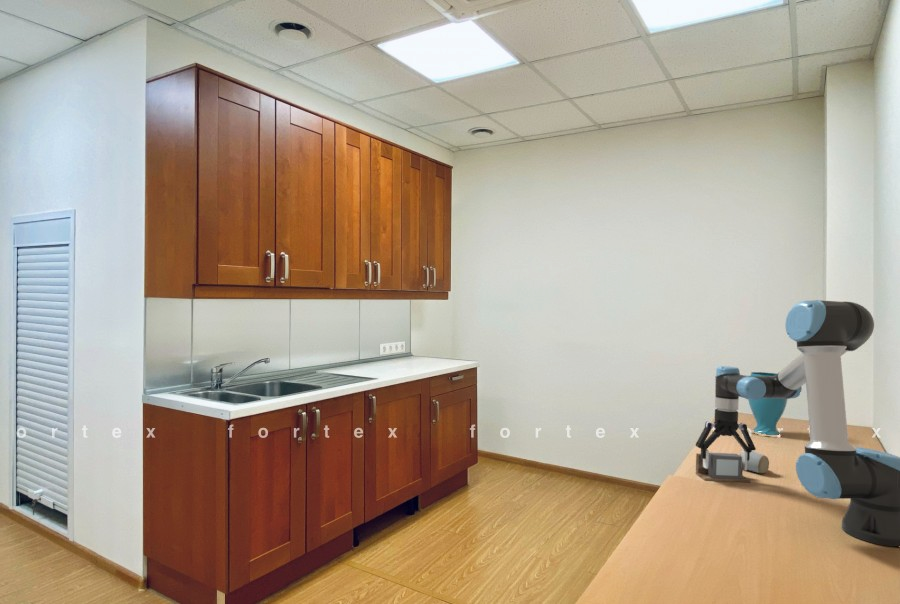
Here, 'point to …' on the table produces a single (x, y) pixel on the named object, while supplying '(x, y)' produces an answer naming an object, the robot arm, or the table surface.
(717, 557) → the table surface
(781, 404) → the vase
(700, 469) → the wall rail
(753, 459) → the ceramic mug
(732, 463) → the grey box
